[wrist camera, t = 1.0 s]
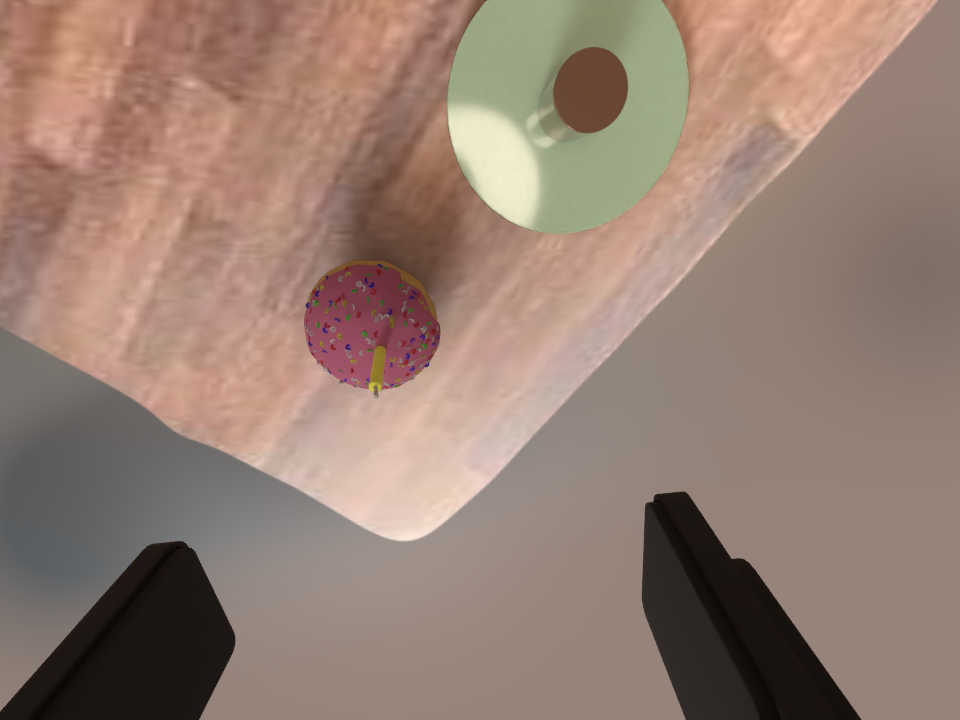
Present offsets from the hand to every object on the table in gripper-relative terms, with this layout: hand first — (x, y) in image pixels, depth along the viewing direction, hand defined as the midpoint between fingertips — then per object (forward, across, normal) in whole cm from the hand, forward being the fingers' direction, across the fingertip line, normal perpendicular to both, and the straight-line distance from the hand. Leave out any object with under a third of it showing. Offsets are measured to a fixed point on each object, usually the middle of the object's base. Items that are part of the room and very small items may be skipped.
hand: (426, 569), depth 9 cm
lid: (+24, -8, -10) cm, 27 cm away
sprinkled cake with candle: (+25, +6, +1) cm, 26 cm away
